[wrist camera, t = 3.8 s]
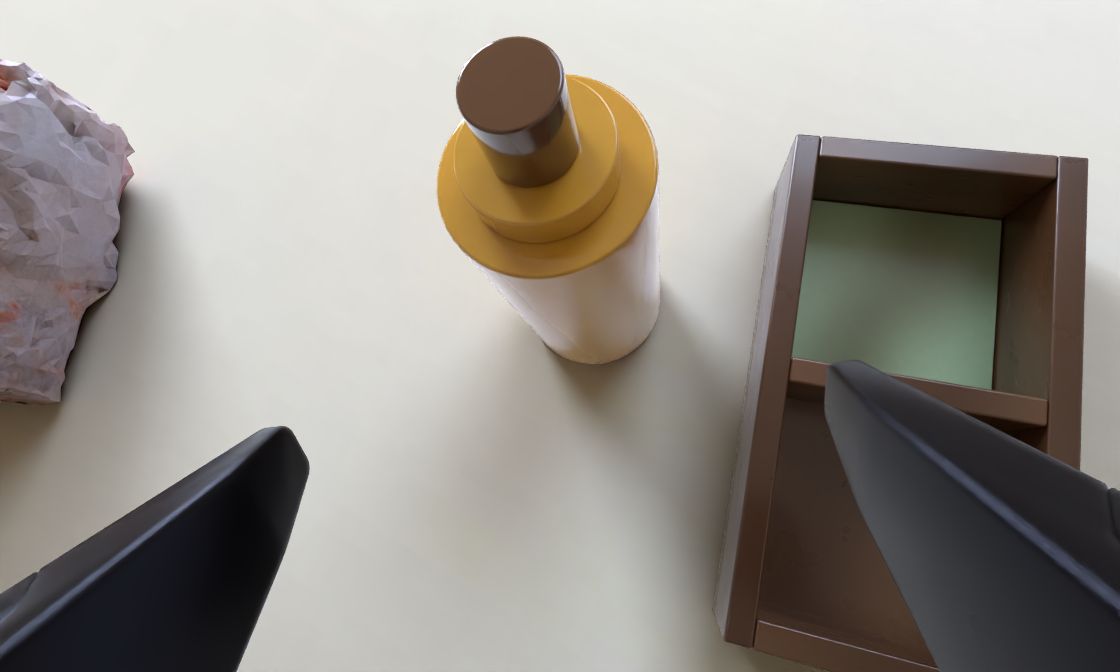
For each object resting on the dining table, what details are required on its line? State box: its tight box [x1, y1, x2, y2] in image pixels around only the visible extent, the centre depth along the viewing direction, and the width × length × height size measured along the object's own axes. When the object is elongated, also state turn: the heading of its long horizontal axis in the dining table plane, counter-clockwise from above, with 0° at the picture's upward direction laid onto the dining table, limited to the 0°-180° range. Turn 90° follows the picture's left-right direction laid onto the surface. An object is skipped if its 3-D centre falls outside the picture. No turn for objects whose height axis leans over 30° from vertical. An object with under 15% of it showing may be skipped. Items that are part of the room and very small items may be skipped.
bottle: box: [437, 37, 660, 364], centre depth 16 cm, size 5×5×13 cm
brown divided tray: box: [713, 135, 1088, 672], centre depth 18 cm, size 8×16×4 cm, turn 168°
